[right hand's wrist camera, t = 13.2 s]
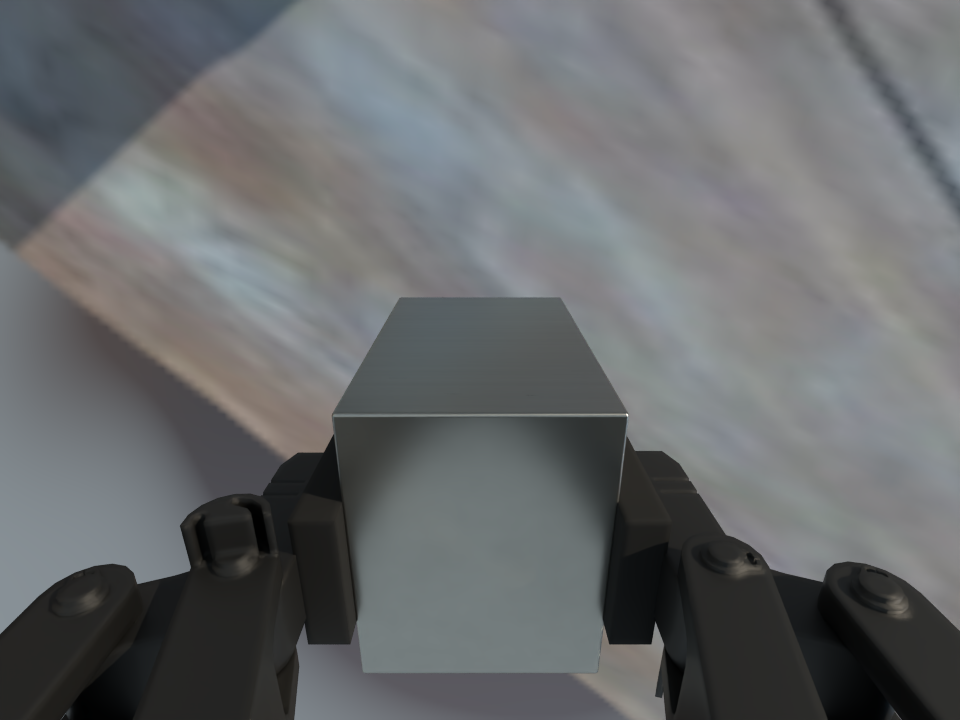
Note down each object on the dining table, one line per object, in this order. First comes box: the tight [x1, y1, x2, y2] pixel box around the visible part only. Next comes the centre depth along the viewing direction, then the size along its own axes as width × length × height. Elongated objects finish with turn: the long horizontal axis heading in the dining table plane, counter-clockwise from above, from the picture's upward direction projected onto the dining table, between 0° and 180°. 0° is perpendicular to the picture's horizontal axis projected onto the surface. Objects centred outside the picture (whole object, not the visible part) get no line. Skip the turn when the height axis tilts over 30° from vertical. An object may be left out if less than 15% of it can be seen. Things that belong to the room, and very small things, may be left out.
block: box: [332, 298, 629, 673], centre depth 12 cm, size 5×6×7 cm
